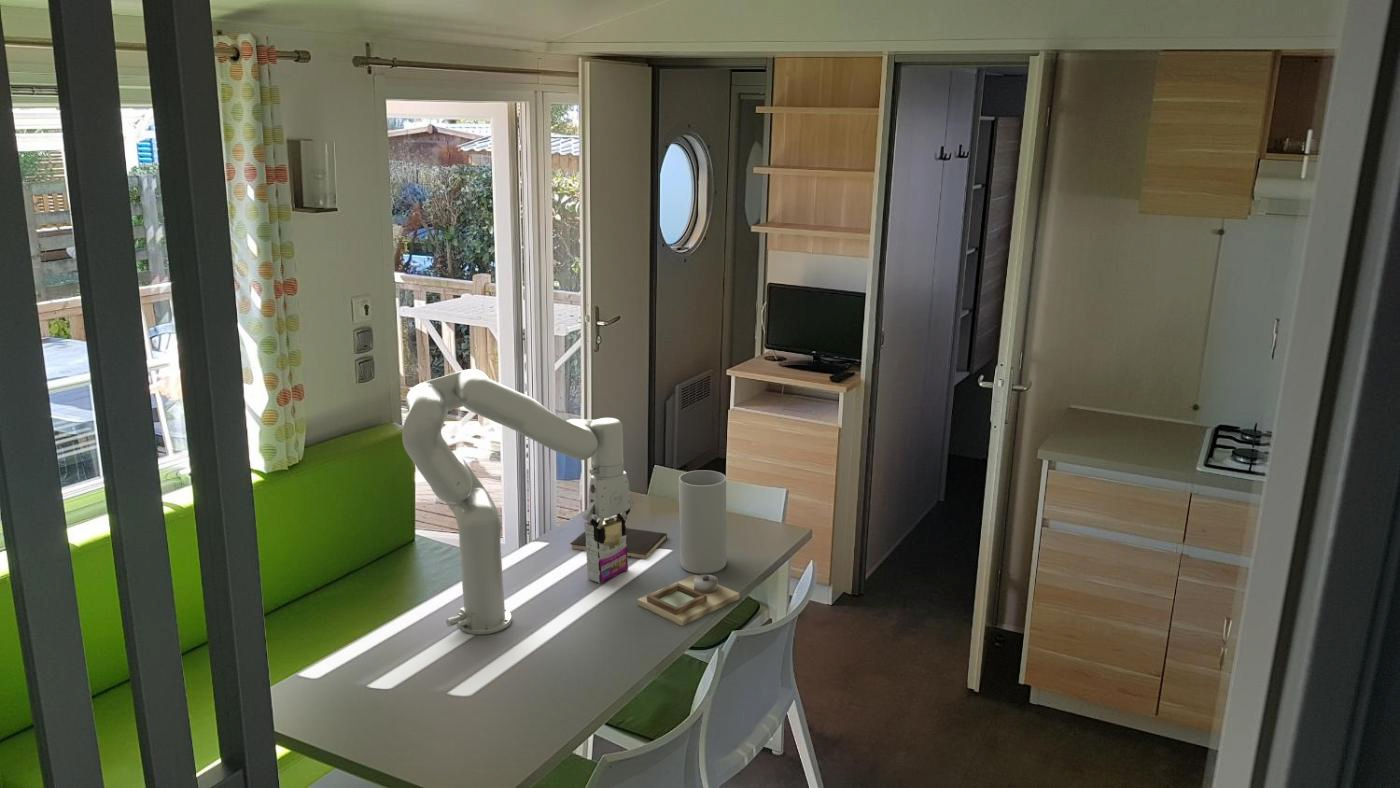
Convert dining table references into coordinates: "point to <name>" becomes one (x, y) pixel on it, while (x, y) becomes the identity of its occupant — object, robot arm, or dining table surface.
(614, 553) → the candy bar box
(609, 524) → the gold round vessel
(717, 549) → the cylinder vase
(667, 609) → the carrier
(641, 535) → the hardcover book
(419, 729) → the dining table surface
